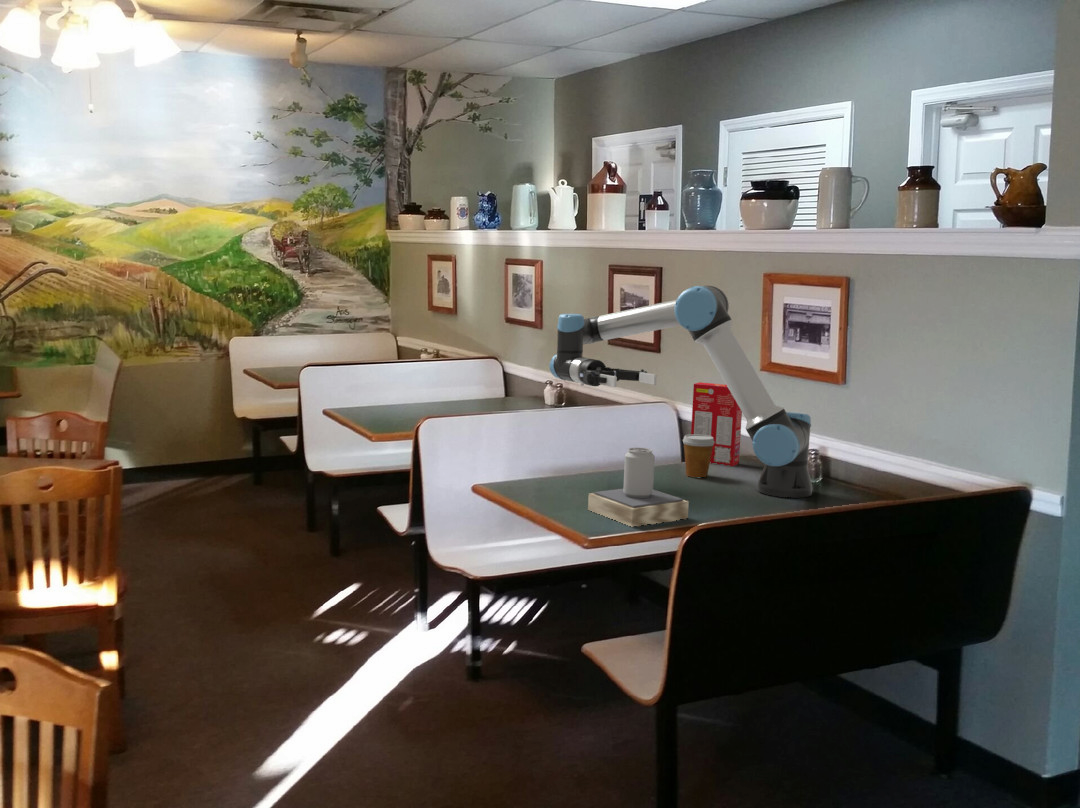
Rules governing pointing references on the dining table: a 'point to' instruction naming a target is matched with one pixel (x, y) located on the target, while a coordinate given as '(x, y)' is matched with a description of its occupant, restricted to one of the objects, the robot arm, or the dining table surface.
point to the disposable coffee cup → (697, 454)
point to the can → (639, 472)
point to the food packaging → (717, 421)
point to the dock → (638, 507)
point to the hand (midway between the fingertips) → (635, 380)
